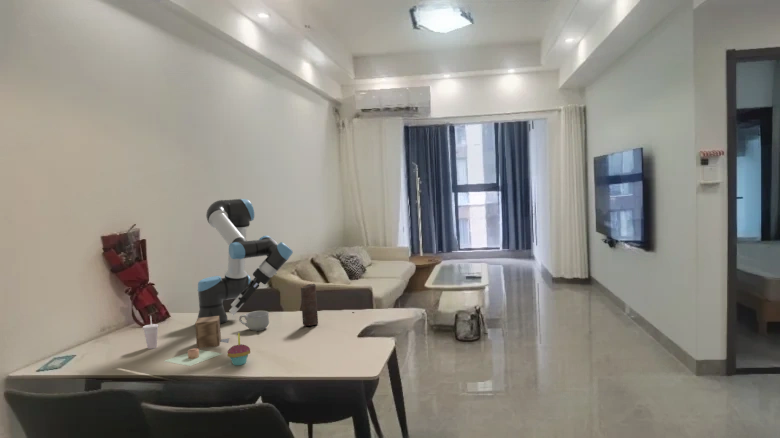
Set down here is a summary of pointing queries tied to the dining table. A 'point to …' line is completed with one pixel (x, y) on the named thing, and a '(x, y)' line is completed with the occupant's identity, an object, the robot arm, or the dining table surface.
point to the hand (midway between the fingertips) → (232, 309)
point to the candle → (309, 305)
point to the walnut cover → (208, 331)
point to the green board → (185, 361)
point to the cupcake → (238, 353)
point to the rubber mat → (225, 340)
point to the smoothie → (151, 334)
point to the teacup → (256, 320)
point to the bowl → (193, 353)
